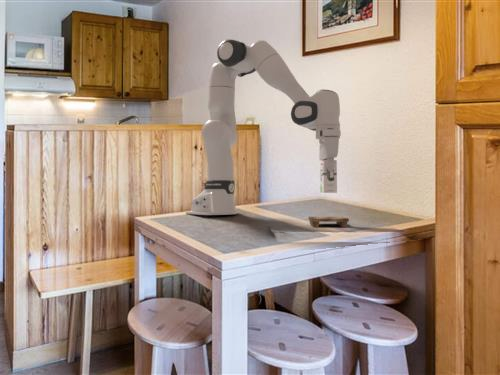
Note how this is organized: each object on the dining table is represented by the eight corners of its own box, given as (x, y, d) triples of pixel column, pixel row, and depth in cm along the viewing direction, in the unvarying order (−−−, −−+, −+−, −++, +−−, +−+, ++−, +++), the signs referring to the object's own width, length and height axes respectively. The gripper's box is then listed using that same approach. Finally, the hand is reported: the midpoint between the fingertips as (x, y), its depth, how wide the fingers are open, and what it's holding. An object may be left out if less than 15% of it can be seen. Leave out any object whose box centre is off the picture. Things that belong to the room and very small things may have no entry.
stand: (312, 227, 158) (312, 218, 158) (308, 224, 169) (308, 216, 169) (348, 227, 158) (348, 218, 158) (342, 224, 169) (342, 216, 169)
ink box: (320, 192, 168) (319, 161, 168) (333, 192, 168) (332, 161, 168) (323, 192, 159) (323, 159, 159) (337, 192, 159) (337, 159, 159)
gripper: (315, 137, 174) (315, 172, 174) (323, 130, 154) (323, 170, 154) (331, 137, 174) (331, 172, 174) (341, 130, 153) (341, 170, 153)
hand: (327, 171), depth 164 cm, fingers closed on ink box, 8 cm apart
